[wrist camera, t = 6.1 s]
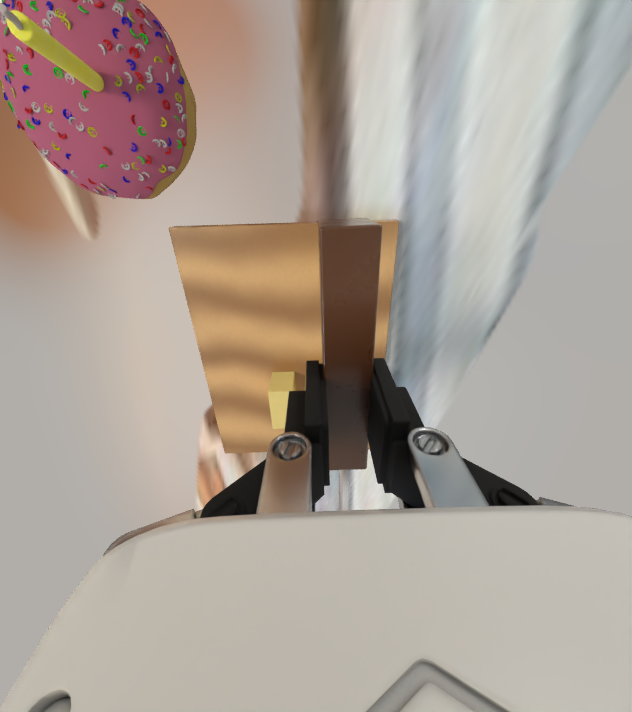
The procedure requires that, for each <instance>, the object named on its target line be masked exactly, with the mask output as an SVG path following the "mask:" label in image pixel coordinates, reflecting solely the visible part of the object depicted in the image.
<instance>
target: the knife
mask: <svg viewBox="0 0 632 712" xmlns="http://www.w3.org/2000/svg"><path fill="white" fill-rule="evenodd" d="M381 241H382V225H380V224H378V223H376V222H374V221H372V220H370V219H368V218H349V219H326V220H319V221H318V247H319V278H320V309H321V340H322V363H323V378H324V380H325V383H326V398H327V412H328V431H329V470H339V511H348V504H349V470H351V469H366V467H367V454H368V424H369V409H370V393H371V378H372V377H373V363H374V348H375V333H376V317H377V302H378V287H379V272H380V256H381Z"/></svg>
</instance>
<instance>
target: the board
mask: <svg viewBox="0 0 632 712" xmlns="http://www.w3.org/2000/svg"><path fill="white" fill-rule="evenodd" d="M372 221H374V222H376V223H378V224H380V225H382V241H381V256H380V272H379V287H378V302H377V317H376V333H375V348H374V358H384V359H385V355H386V345H387V335H388V326H389V316H390V306H391V296H392V286H393V276H394V267H395V257H396V247H397V237H398V227H399V221H398V220H372ZM169 232H170V236H171V239H172V244H173V247H174V252H175V256H176V259H177V264H178V267H179V272H180V275H181V279H182V283H183V287H184V291H185V296H186V299H187V303H188V307H189V311H190V315H191V319H192V323H193V327H194V331H195V335H196V339H197V343H198V347H199V351H200V355H201V359H202V363H203V367H204V371H205V375H206V379H207V383H208V387H209V391H210V395H211V399H212V403H213V407H214V411H215V415H216V419H217V423H218V427H219V431H220V435H221V439H222V443H223V447H224V451H225V453H249V452H268V447H269V445H270V442H271V441H272V440H273V439H274V438H275V437H277V436H278V435H280V434H283V433H284V431H285V429H273V428H272V420H271V412H270V405H269V397H268V389H269V384H270V380H271V375H272V372H294V373H295V386H296V391H305V378H306V361H313V360H319V364H321V363H322V340H321V309H320V278H319V247H318V222H301V223H269V224H237V225H236V224H235V225H202V226H174V227H170V228H169ZM368 449H370V447H369V442H368Z"/></svg>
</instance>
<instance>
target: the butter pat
mask: <svg viewBox="0 0 632 712" xmlns="http://www.w3.org/2000/svg"><path fill="white" fill-rule="evenodd" d="M289 391H296V386H295V373H294V372H272V375H271V380H270V384H269V389H268V397H269V405H270V412H271V420H272V428H273V429H285V422H286V413H287V405H288V396H289Z"/></svg>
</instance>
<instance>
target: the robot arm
mask: <svg viewBox="0 0 632 712" xmlns="http://www.w3.org/2000/svg"><path fill="white" fill-rule="evenodd" d="M368 442H369V447H370V451H371V456H372V460H373V464H374V469H375V473H376V478H377V482H378V484H383V487H384V491H385V493H393V494H394V495H396V496H397V497H399V498H398V502H399V507H400V509H379V510H350V511H323V512H315V503H316V502H317V501H318V500H319V499H320V498H321V497H322V496H323V495H324V486H328V485H330V478H329V431H328V412H327V398H326V383H325V380H324V378H323V363H321V364H319V360H313V361H306V391H289V396H288V405H287V413H286V422H285V431H284V433H283V434H280V435H278V436H277V437H275V438H274V439H273V440H272V441H271V442H270V445H269V447H268V452H267V458H266V459H265V460H264V461H263V462H261V463H260V464H259V465H257V466H256V467H254V468H253V469H252V470H250V471H249V472H248V473H246V474H245V475H243V476H242V477H241V478H239V479H238V480H237V481H235V482H234V483H232V484H231V485H230V486H228V487H227V488H226V489H224V490H223V491H222V492H220V493H219V494H217V495H216V496H215V497H213V498H212V499H211V500H210V501H209V502H208V503H207V504H206V506H205V507H204V508H203V509H202V510H199V511H197V512H195V510H194V509H192V510H189V511H186V512H183V513H181V514H178V515H175V516H172V517H169V518H167V519H164V520H161V521H158V522H156V523H153V524H150V525H148V526H145V527H142V528H139V529H137V530H133V531H131V532H128V533H126V534H124V535H122V536H121V537H119V538H118V539H117V540H116V541H114V542H113V543H112V544H111V545H110V546H109V548H108V549H107V550H106V551H105V553H104V555H103V557H102V558H101V559H100V560H99V561H98V562H97V563H96V564H95V565H94V566H93V567H92V568H91V570H90V571H89V572H88V573H87V574H86V576H85V577H84V578H83V579H82V580H81V582H80V583H79V584H78V586H77V587H76V589H75V590H74V592H73V593H72V594H71V596H70V597H69V598H68V600H67V601H66V603H65V604H64V606H63V607H62V609H61V610H60V612H59V613H58V615H57V616H56V618H55V619H54V621H53V623H52V624H51V625H50V627H49V628H48V630H47V631H46V633H45V635H44V636H43V638H42V640H41V641H40V643H39V644H38V646H37V648H36V649H35V651H34V653H33V654H32V656H31V658H30V659H29V661H28V662H27V664H26V666H25V667H24V669H23V671H22V672H21V674H20V675H19V677H18V679H17V680H16V682H15V684H14V685H13V687H12V688H11V690H10V692H9V693H8V695H7V697H6V698H5V700H4V702H3V704H2V705H1V707H0V712H632V516H629V515H626V514H622V513H617V512H612V511H606V510H601V509H595V508H586V507H576V506H572V505H568V504H564V503H560V502H557V501H553V500H549V499H545V498H541V497H540V498H539V499H538V501H537V500H535V499H534V498H532V496H530V495H529V494H528V493H527V492H526V491H524V490H522V489H521V488H519V487H518V486H516V485H514V484H512V483H510V482H508V481H506V480H504V479H502V478H500V477H498V476H496V475H495V474H493V473H491V472H489V471H487V470H485V469H483V468H481V467H479V466H477V465H475V464H473V463H472V462H469V461H467V460H466V459H464V458H462V457H461V456H460V454H459V452H458V451H457V449H456V447H455V446H454V444H453V442H452V440H451V439H450V438H449V437H448V436H447V435H446V434H444V433H443V432H441V431H439V430H437V429H434V428H430V427H424V425H423V423H422V421H421V419H420V416H419V414H418V412H417V410H416V408H415V406H414V404H413V402H412V400H411V398H410V395H409V393H408V391H407V389H406V388H405V387H396V385H395V383H394V380H393V378H392V376H391V373H390V371H389V369H388V366H387V364H386V362H385V359H384V358H374V363H373V377H372V378H371V393H370V409H369V424H368Z"/></svg>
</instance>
